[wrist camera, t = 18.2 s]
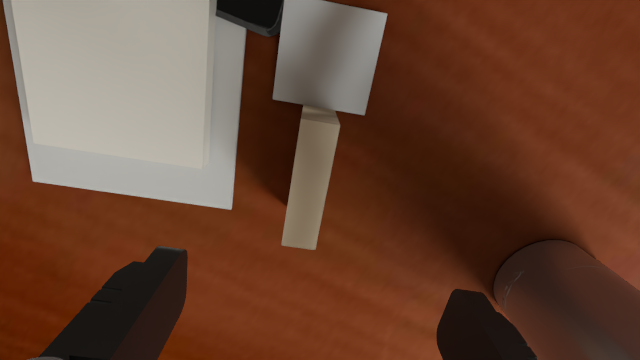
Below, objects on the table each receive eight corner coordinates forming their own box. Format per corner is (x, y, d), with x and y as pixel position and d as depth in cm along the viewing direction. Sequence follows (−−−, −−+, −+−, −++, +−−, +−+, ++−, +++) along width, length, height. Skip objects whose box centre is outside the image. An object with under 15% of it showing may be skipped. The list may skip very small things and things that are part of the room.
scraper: (385, 14, 23) (408, 3, 17) (340, 214, 29) (347, 254, 23) (286, -6, 22) (277, -24, 17) (260, 202, 28) (248, 240, 23)
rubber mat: (251, -33, 22) (250, -34, 21) (232, 207, 28) (230, 209, 28) (-6, -86, 20) (-12, -88, 20) (36, 179, 27) (32, 181, 26)
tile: (209, 161, 26) (217, -7, 22) (202, 168, 24) (209, -12, 20) (52, 137, 25) (27, -44, 21) (33, 143, 23) (2, -53, 19)
